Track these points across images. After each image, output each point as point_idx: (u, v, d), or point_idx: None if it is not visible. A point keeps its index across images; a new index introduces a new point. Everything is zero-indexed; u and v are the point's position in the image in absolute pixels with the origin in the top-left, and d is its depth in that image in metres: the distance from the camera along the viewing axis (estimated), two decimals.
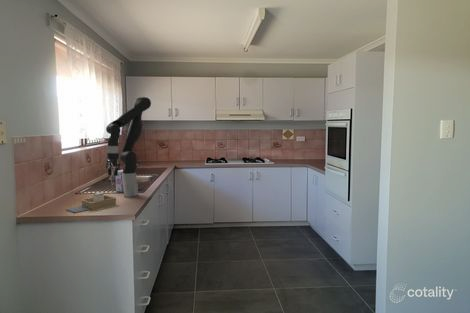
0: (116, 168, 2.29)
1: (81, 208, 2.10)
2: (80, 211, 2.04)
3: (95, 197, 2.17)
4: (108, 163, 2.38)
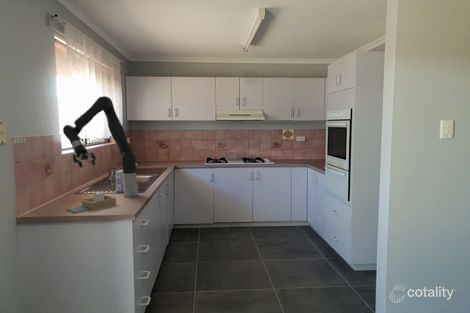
0: (74, 161, 2.22)
1: (81, 208, 2.10)
2: (80, 211, 2.04)
3: (95, 197, 2.17)
4: (91, 156, 2.32)
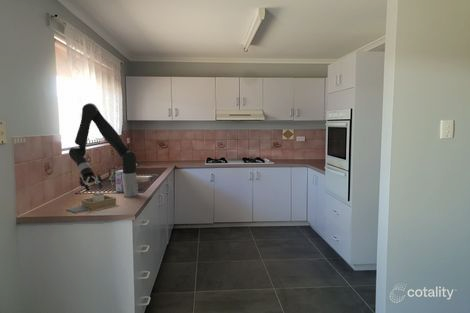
0: None
1: (81, 208, 2.10)
2: (80, 211, 2.04)
3: (95, 197, 2.17)
4: (98, 178, 2.28)
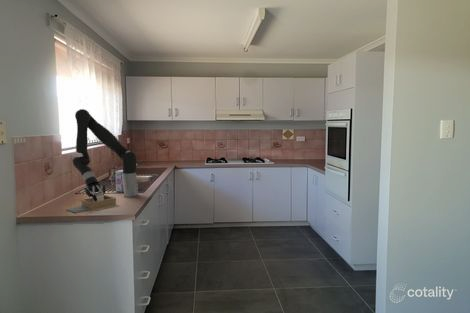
0: (88, 195, 2.16)
1: (81, 208, 2.10)
2: (80, 211, 2.04)
3: None
4: (102, 189, 2.24)
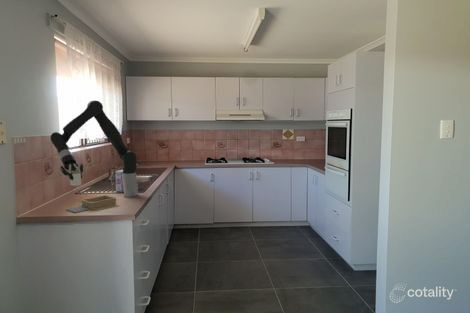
0: (64, 174, 2.04)
1: (81, 208, 2.10)
2: (80, 211, 2.04)
3: None
4: (80, 168, 2.12)
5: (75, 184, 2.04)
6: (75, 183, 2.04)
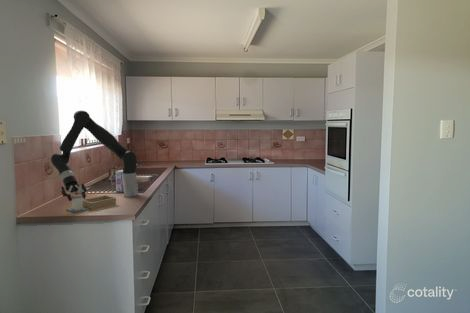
0: None
1: None
2: (80, 211, 2.04)
3: (73, 200, 2.06)
4: (82, 187, 2.14)
5: (77, 208, 2.06)
6: (77, 207, 2.06)
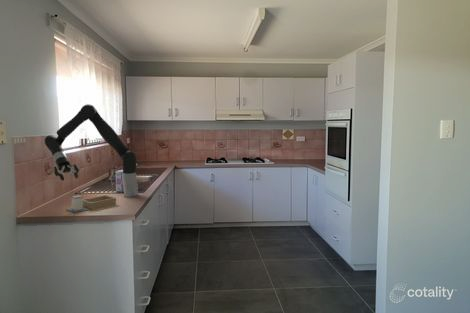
0: (55, 174, 2.11)
1: None
2: (80, 211, 2.04)
3: (73, 200, 2.06)
4: (74, 168, 2.21)
5: (77, 208, 2.06)
6: (77, 207, 2.06)
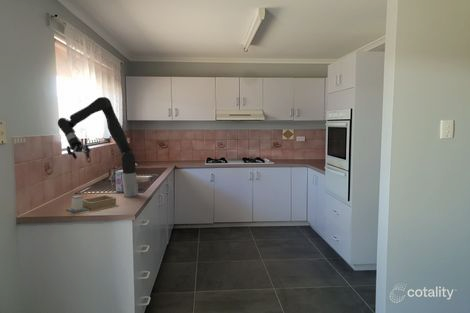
0: (68, 153, 2.24)
1: None
2: (80, 211, 2.04)
3: (73, 200, 2.06)
4: (86, 148, 2.34)
5: (77, 208, 2.06)
6: (77, 207, 2.06)
